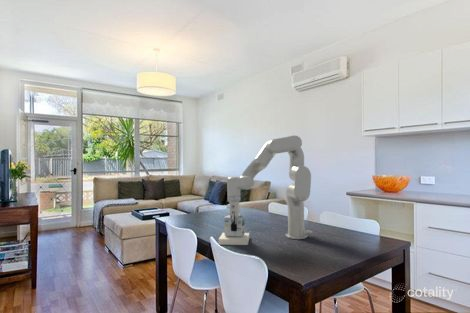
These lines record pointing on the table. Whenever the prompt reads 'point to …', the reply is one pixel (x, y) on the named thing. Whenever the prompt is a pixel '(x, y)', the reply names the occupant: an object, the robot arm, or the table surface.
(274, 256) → the table surface
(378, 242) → the table surface
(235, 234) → the light bulb box
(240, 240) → the base block
